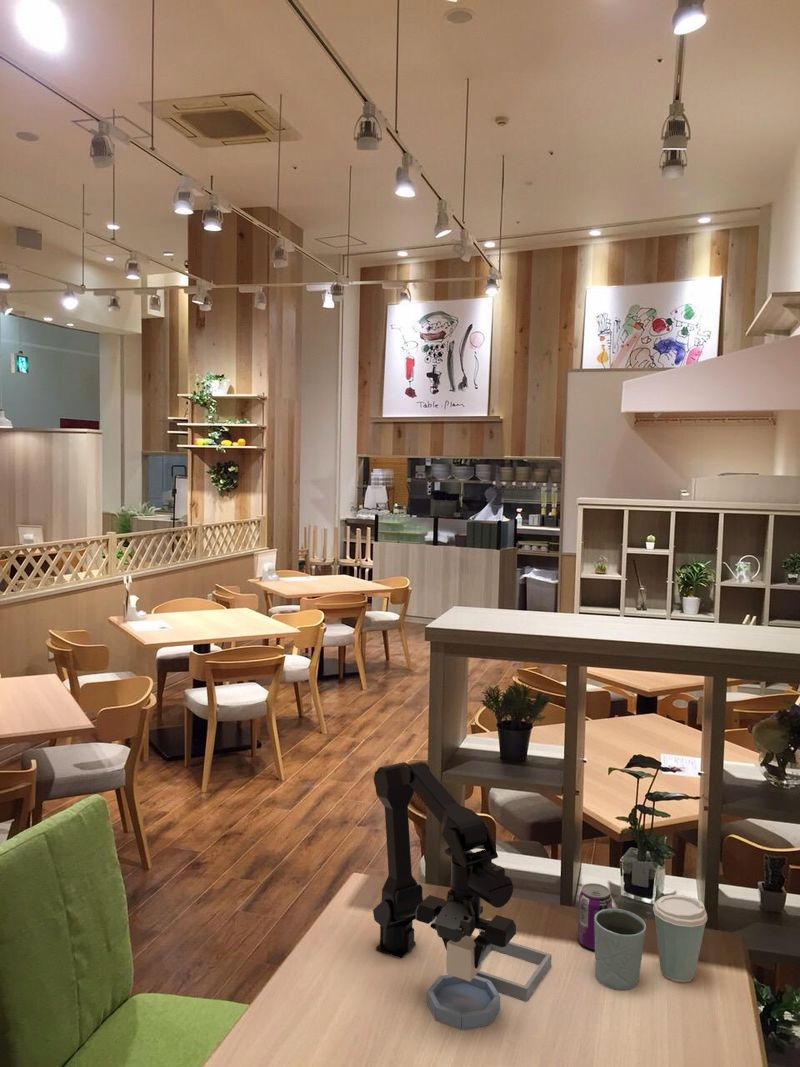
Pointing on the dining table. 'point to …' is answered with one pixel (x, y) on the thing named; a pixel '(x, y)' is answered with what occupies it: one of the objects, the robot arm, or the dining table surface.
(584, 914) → the beverage can
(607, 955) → the embossed ceramic cup
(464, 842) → the robot arm
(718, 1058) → the dining table surface
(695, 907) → the disposable coffee cup
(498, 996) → the ceramic bowl
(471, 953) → the stone block
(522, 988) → the open square frame
